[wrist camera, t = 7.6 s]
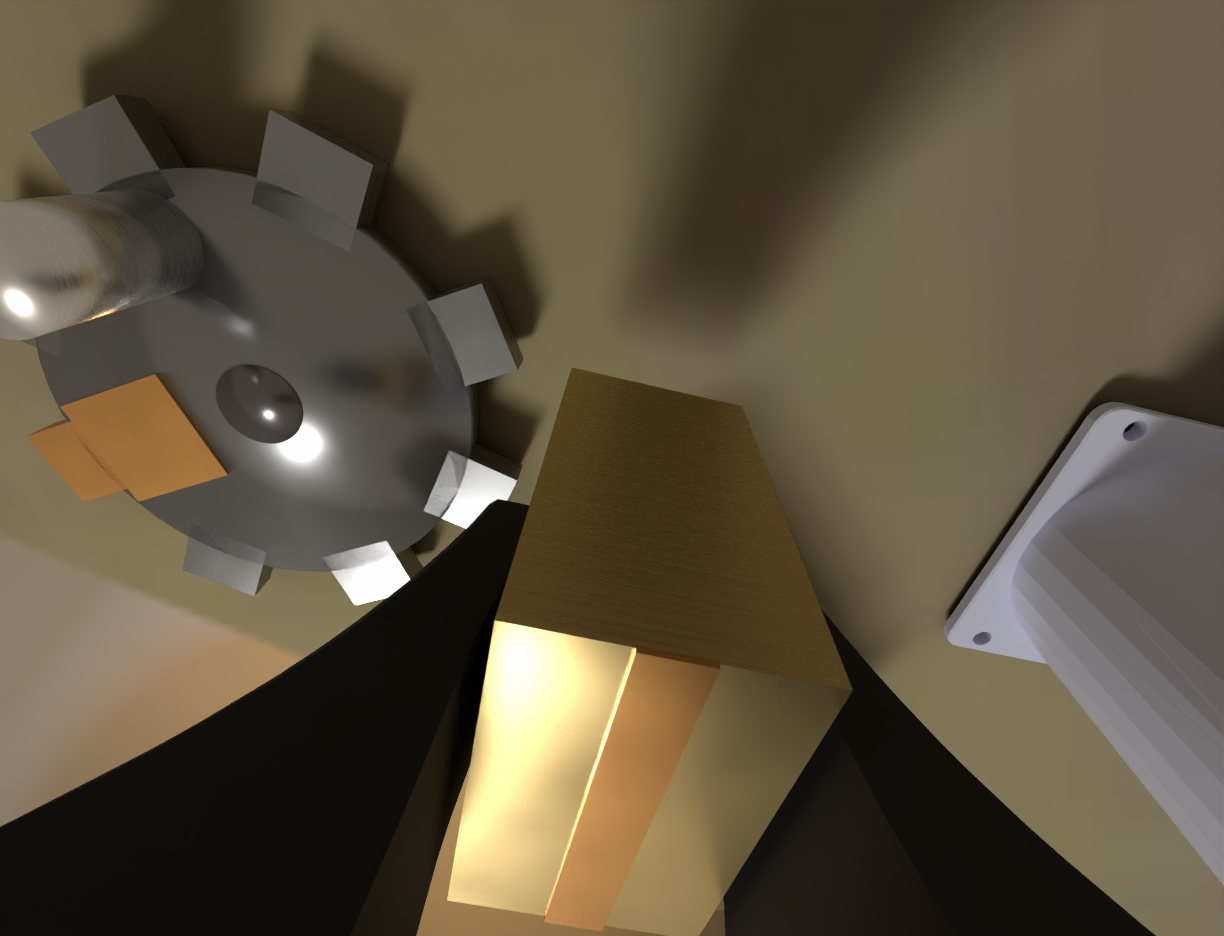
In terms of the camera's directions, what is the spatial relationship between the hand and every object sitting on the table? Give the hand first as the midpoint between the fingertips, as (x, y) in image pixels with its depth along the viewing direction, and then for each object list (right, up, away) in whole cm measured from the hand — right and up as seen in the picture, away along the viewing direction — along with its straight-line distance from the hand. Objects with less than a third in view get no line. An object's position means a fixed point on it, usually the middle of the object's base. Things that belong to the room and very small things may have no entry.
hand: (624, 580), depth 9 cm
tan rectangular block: (0, +1, +2) cm, 2 cm away
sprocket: (-8, +4, +6) cm, 11 cm away
